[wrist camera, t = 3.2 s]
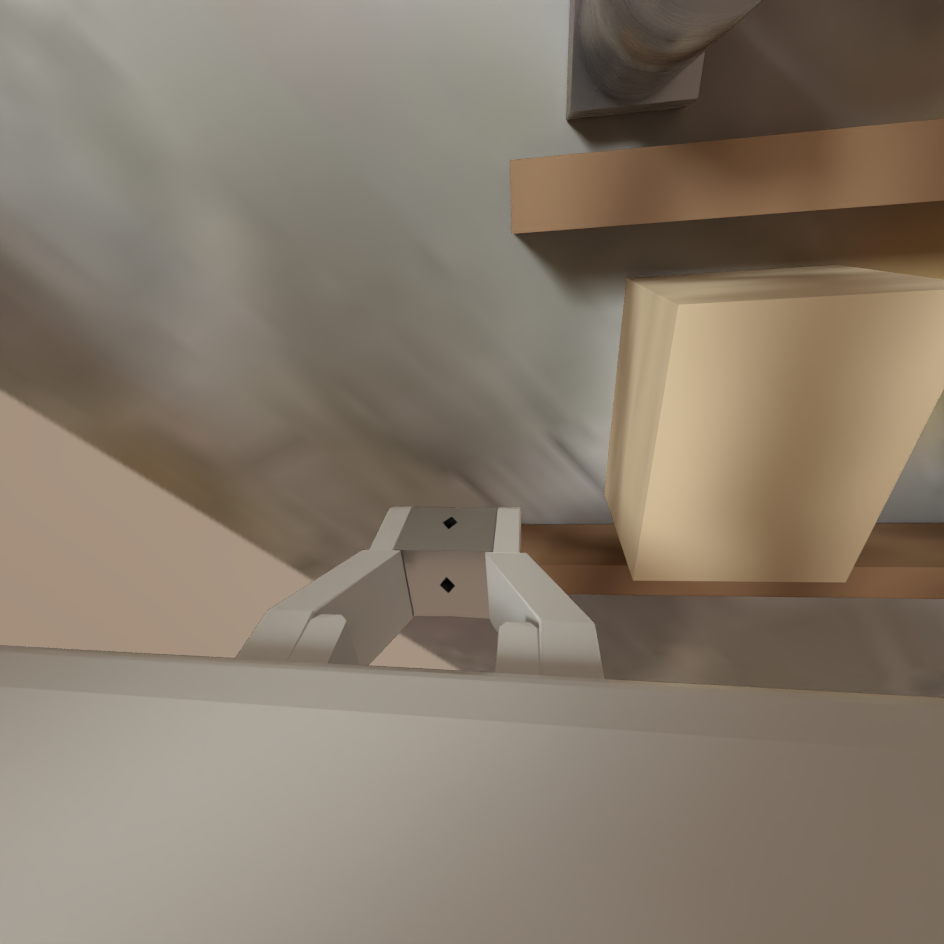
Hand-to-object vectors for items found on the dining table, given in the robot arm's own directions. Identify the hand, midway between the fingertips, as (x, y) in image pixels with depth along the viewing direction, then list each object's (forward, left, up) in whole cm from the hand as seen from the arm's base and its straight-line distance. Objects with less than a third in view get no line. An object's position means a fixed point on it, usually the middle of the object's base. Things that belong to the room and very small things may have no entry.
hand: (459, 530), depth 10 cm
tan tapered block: (+8, 0, -7) cm, 11 cm away
